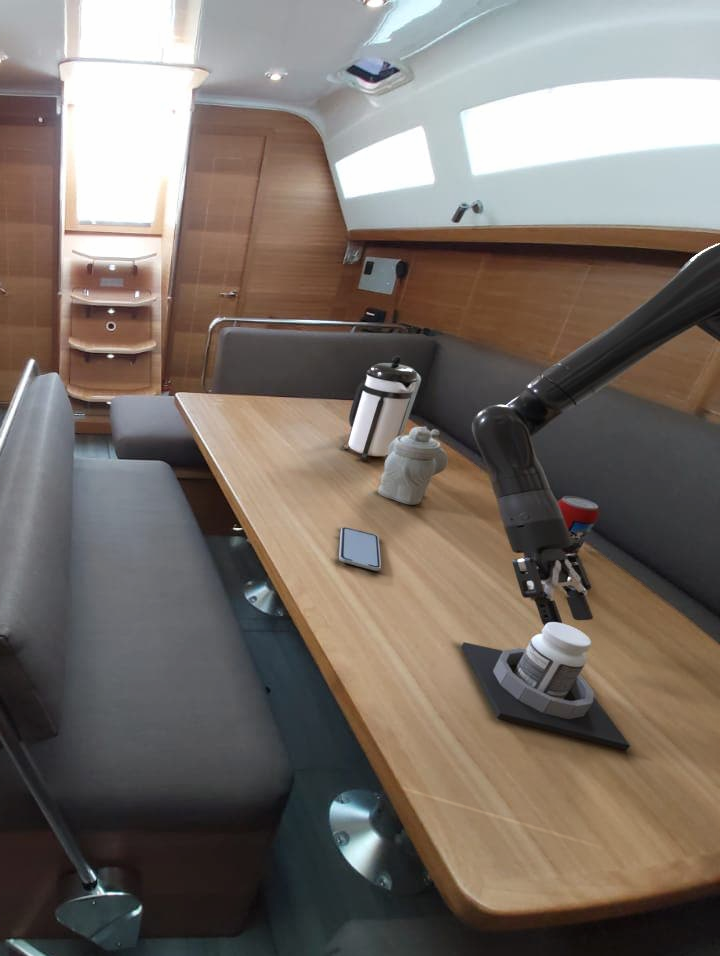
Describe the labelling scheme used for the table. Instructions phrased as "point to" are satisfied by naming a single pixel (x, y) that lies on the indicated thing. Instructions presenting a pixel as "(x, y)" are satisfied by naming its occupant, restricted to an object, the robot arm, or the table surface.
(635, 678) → the table surface
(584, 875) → the table surface
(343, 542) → the smartphone
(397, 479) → the grey sculpted cookie jar
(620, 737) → the dock
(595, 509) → the beverage can
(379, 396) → the coffee press
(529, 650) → the pill bottle
